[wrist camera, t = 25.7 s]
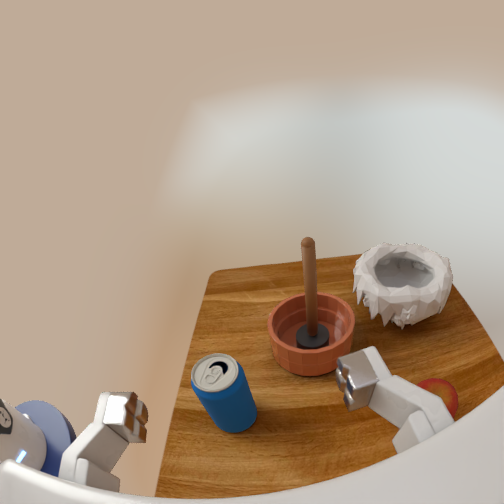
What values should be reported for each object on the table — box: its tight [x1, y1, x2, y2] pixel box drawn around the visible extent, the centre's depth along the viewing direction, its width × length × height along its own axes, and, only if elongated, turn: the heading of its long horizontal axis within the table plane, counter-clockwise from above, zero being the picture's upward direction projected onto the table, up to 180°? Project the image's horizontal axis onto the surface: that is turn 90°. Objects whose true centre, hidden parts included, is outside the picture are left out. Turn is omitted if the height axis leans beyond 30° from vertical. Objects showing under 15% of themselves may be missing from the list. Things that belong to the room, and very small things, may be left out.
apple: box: [416, 378, 458, 418], centre depth 25 cm, size 8×8×8 cm
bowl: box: [353, 243, 453, 329], centre depth 46 cm, size 21×20×10 cm
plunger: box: [296, 237, 329, 350], centre depth 39 cm, size 6×6×20 cm
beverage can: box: [191, 354, 257, 433], centre depth 32 cm, size 6×6×12 cm
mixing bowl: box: [267, 292, 355, 376], centre depth 43 cm, size 14×14×6 cm
